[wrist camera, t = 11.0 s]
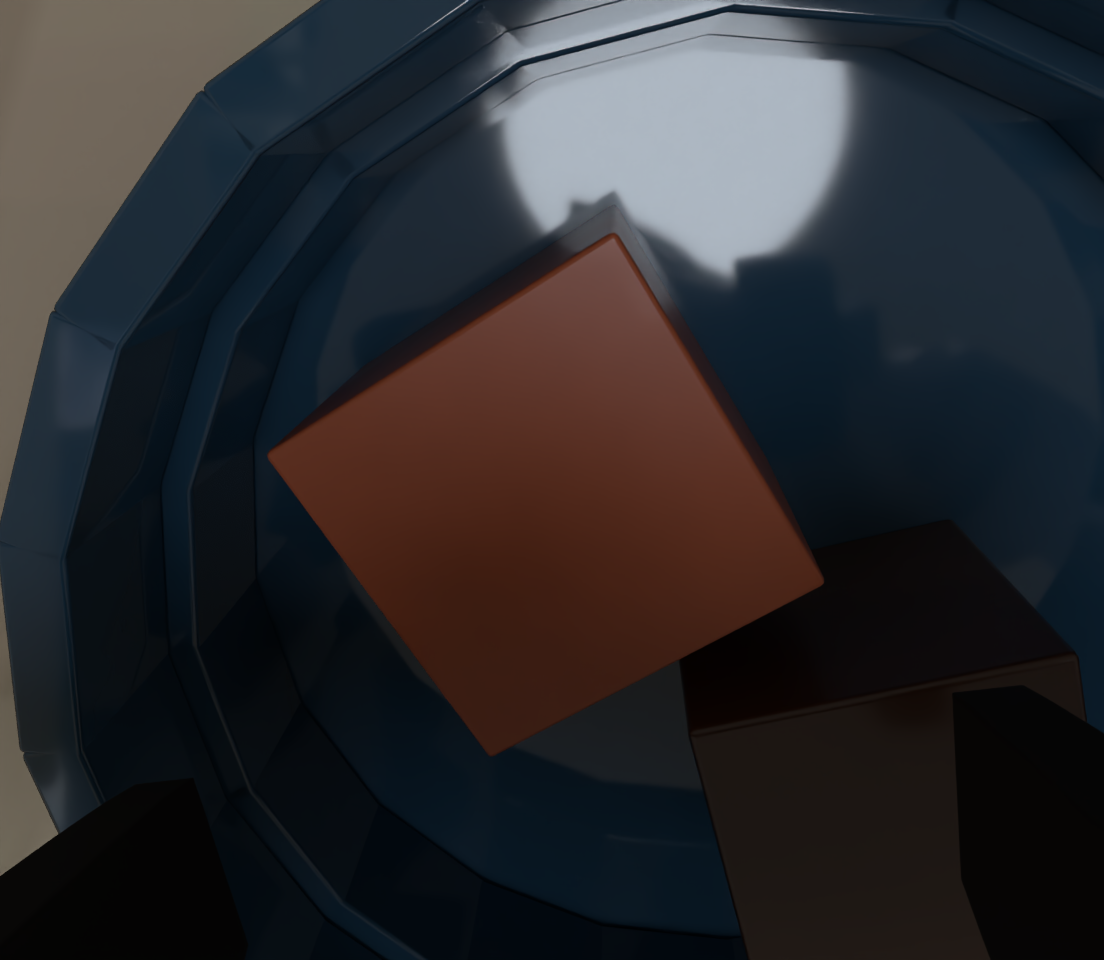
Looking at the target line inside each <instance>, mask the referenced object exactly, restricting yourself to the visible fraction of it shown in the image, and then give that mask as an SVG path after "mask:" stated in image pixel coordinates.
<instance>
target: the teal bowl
mask: <svg viewBox="0 0 1104 960" xmlns="http://www.w3.org/2000/svg"><path fill="white" fill-rule="evenodd" d="M610 206H616V207H617V208H618V209H619V211H620V212H621V214H622V216H623V217H624V219H625V221H626V223H627V224H628V226H629V228H630V229H631V231H632V233H633V234H634V236H635V238H636V239H637V241H638V243H639V244H640V246H641V248H642V249H643V251H644V253H645V254H646V256H647V258H648V260H649V261H650V263H651V265H652V266H653V268H654V270H655V271H656V273H657V275H658V276H659V278H660V280H661V281H662V283H663V285H664V286H665V288H666V290H667V291H668V293H669V295H670V297H671V298H672V300H673V302H674V303H675V305H676V307H677V308H678V310H679V312H680V313H681V315H682V317H683V318H684V320H685V322H686V323H687V325H688V327H689V329H690V330H691V332H692V334H693V335H694V337H695V339H696V340H697V342H698V344H699V345H700V347H701V349H702V350H703V352H704V354H705V355H706V357H707V359H708V360H709V362H710V364H711V366H712V367H713V369H714V371H715V372H716V374H717V376H718V377H719V379H720V381H721V382H722V384H723V386H724V387H725V389H726V391H727V392H728V394H729V396H730V398H731V399H732V401H733V403H734V404H735V406H736V408H737V409H738V411H739V413H740V414H741V416H742V418H743V419H744V421H745V423H746V424H747V426H748V428H749V429H750V431H751V433H752V435H753V436H754V438H755V440H756V441H757V443H758V445H759V446H760V448H761V450H762V451H763V453H764V455H765V456H766V458H767V460H768V462H769V464H770V466H771V468H772V470H773V473H774V475H775V477H776V479H777V481H778V483H779V485H780V487H781V489H782V491H783V493H784V496H785V498H786V500H787V502H788V504H789V506H790V508H791V510H792V512H793V514H794V516H795V519H796V521H797V523H798V525H799V527H800V529H801V531H802V533H803V535H804V537H805V539H806V541H807V544H808V546H809V548H810V550H814V549H818V548H823V547H827V546H832V545H836V544H841V543H845V542H849V541H854V540H858V539H863V538H867V537H872V536H876V535H881V534H885V533H890V532H894V531H899V530H903V529H907V528H912V527H916V526H921V525H925V524H930V523H934V522H939V521H943V520H953V521H954V522H955V523H956V524H957V526H958V527H959V528H960V529H961V530H962V531H963V532H964V533H965V534H966V535H967V536H968V537H969V538H970V539H971V541H972V542H973V543H974V544H975V545H976V546H977V547H978V548H979V549H980V550H981V551H982V552H983V553H984V554H985V556H986V557H987V558H988V559H989V560H990V561H991V562H992V563H993V564H994V565H995V566H996V567H997V568H998V569H999V571H1000V572H1001V573H1002V574H1003V575H1004V576H1005V577H1006V578H1007V579H1008V580H1009V581H1010V582H1011V583H1012V584H1013V586H1014V587H1015V588H1016V589H1017V590H1018V591H1019V592H1020V593H1021V594H1022V595H1023V596H1024V597H1025V598H1026V599H1027V601H1028V602H1029V603H1030V604H1031V605H1032V606H1033V607H1034V608H1035V609H1036V610H1037V611H1038V612H1039V613H1040V614H1041V616H1042V617H1043V618H1044V619H1045V620H1046V621H1047V622H1048V623H1049V624H1050V625H1051V626H1052V627H1053V628H1054V629H1055V631H1056V632H1057V633H1058V634H1059V635H1060V636H1061V637H1062V638H1063V639H1064V640H1065V641H1066V642H1067V643H1068V644H1069V646H1070V647H1071V648H1072V649H1073V650H1074V651H1075V652H1076V654H1077V655H1078V656H1079V663H1080V671H1081V678H1082V686H1083V693H1084V701H1085V709H1086V716H1087V723H1088V724H1090V725H1091V726H1093V727H1095V728H1096V729H1098V730H1099V731H1101V732H1103V733H1104V0H320V1H319V2H317V3H316V4H314V5H313V6H312V7H310V8H309V9H308V10H306V11H305V12H303V13H302V14H301V15H299V16H298V17H297V18H295V19H294V20H292V21H291V22H290V23H288V24H287V25H285V26H284V27H283V28H281V29H280V30H279V31H277V32H276V33H274V34H273V35H272V36H270V37H269V38H268V39H266V40H265V41H263V42H262V43H261V44H259V45H258V46H257V47H255V48H254V49H252V50H251V51H250V52H248V53H247V54H246V55H244V56H243V57H241V58H240V59H239V60H237V61H236V62H235V63H233V64H232V65H230V66H229V67H228V68H226V69H225V70H224V71H222V72H221V73H219V74H218V75H217V76H215V77H214V78H213V79H211V80H210V81H208V82H207V83H206V85H205V86H204V91H200V92H198V93H197V94H196V95H195V97H194V98H193V100H192V101H191V103H190V104H189V106H188V107H187V109H186V110H185V112H184V113H183V115H182V116H181V118H180V119H179V121H178V122H177V124H176V125H175V127H174V128H173V129H172V131H171V132H170V134H169V135H168V137H167V138H166V140H165V141H164V143H163V144H162V146H161V147H160V149H159V150H158V152H157V153H156V155H155V156H154V158H153V159H152V161H151V162H150V164H149V165H148V167H147V168H146V170H145V171H144V173H143V174H142V176H141V177H140V179H139V180H138V182H137V183H136V185H135V186H134V188H133V189H132V191H131V192H130V194H129V195H128V197H127V198H126V200H125V201H124V203H123V204H122V206H121V207H120V209H119V210H118V211H117V213H116V214H115V216H114V217H113V219H112V220H111V222H110V223H109V225H108V226H107V228H106V229H105V231H104V232H103V234H102V235H101V237H100V238H99V240H98V241H97V243H96V244H95V246H94V247H93V249H92V250H91V252H90V253H89V255H88V256H87V258H86V259H85V261H84V262H83V264H82V265H81V267H80V268H79V270H78V271H77V273H76V274H75V276H74V277H73V279H72V280H71V282H70V283H69V285H68V286H67V288H66V289H65V291H64V292H63V293H62V295H61V296H60V298H59V299H58V301H57V302H56V304H55V308H54V310H55V311H52V313H51V314H50V316H49V320H48V324H47V328H46V333H45V337H44V341H43V345H42V349H41V353H40V358H39V362H38V366H37V370H36V374H35V378H34V383H33V387H32V391H31V395H30V399H29V403H28V408H27V412H26V416H25V420H24V424H23V428H22V433H21V437H20V441H19V445H18V449H17V453H16V458H15V462H14V466H13V470H12V474H11V478H10V483H9V487H8V491H7V495H6V499H5V503H4V508H3V512H2V516H1V520H0V578H1V587H2V596H3V605H4V613H5V622H6V631H7V640H8V649H9V658H10V667H11V676H12V684H13V693H14V702H15V711H16V720H17V729H18V738H19V747H20V750H21V751H22V752H24V754H23V758H24V761H25V763H26V766H27V768H28V770H29V772H30V774H31V776H32V778H33V781H34V783H35V785H36V787H37V789H38V791H39V793H40V795H41V798H42V800H43V802H44V804H45V806H46V808H47V810H48V813H49V815H50V817H51V819H52V821H53V823H54V825H55V828H56V830H57V832H58V834H60V833H61V832H62V831H64V830H65V829H67V828H68V827H70V826H71V825H72V824H74V823H75V822H77V821H78V820H80V819H81V818H83V817H84V816H85V815H87V814H88V813H90V812H91V811H93V810H94V809H96V808H97V807H99V806H100V805H102V804H103V803H105V802H107V801H108V800H110V799H111V798H113V797H115V796H116V795H118V794H120V793H121V792H123V791H125V790H126V789H128V788H130V787H132V786H133V785H135V784H143V783H152V782H161V781H170V780H179V779H187V778H194V781H195V784H196V787H197V790H198V793H199V796H200V799H201V802H202V805H203V808H204V811H205V814H206V817H207V820H208V823H209V826H210V829H211V832H212V835H213V839H214V842H215V845H216V848H217V851H218V854H219V857H220V860H221V863H222V866H223V869H224V872H225V875H226V878H227V881H228V884H229V887H230V890H231V893H232V896H233V899H234V902H235V905H236V908H237V911H238V914H239V918H240V921H241V924H242V927H243V930H244V933H245V936H246V939H247V942H248V948H247V952H246V956H245V960H748V959H747V956H746V952H745V948H744V944H743V940H742V937H741V933H740V929H739V925H738V922H737V918H736V914H735V910H734V906H733V903H732V899H731V895H730V891H729V888H728V884H727V880H726V876H725V873H724V869H723V865H722V861H721V857H720V854H719V850H718V846H717V842H716V839H715V835H714V831H713V827H712V823H711V820H710V816H709V812H708V808H707V805H706V801H705V797H704V793H703V789H702V786H701V782H700V778H699V774H698V771H697V767H696V763H695V759H694V755H693V752H692V748H691V744H690V740H689V737H688V730H687V722H686V714H685V706H684V698H683V690H682V682H681V674H680V666H679V660H678V661H676V662H674V663H672V664H670V665H668V666H666V667H664V668H662V669H660V670H658V671H656V672H654V673H652V674H651V675H649V676H647V677H645V678H643V679H641V680H639V681H637V682H635V683H633V684H631V685H629V686H627V687H626V688H624V689H622V690H620V691H618V692H616V693H614V694H612V695H610V696H608V697H606V698H604V699H602V700H600V701H599V702H597V703H595V704H593V705H591V706H589V707H587V708H585V709H583V710H581V711H579V712H577V713H575V714H574V715H572V716H570V717H568V718H566V719H564V720H562V721H560V722H558V723H556V724H554V725H552V726H550V727H549V728H547V729H545V730H543V731H541V732H539V733H537V734H535V735H533V736H531V737H529V738H527V739H525V740H523V741H522V742H520V743H518V744H516V745H514V746H512V747H510V748H508V749H506V750H504V751H502V752H500V753H498V754H497V755H495V756H489V755H488V754H487V753H486V751H485V750H484V749H483V747H482V746H481V745H480V743H479V742H478V741H477V739H476V738H475V737H474V735H473V734H472V733H471V731H470V730H469V728H468V727H467V726H466V724H465V723H464V722H463V720H462V719H461V718H460V716H459V715H458V714H457V712H456V711H455V710H454V708H453V707H452V706H451V704H450V703H449V702H448V700H447V699H446V698H445V696H444V695H443V694H442V692H441V691H440V689H439V688H438V687H437V685H436V684H435V683H434V681H433V680H432V679H431V677H430V676H429V675H428V673H427V672H426V671H425V669H424V668H423V667H422V665H421V664H420V663H419V661H418V660H417V659H416V657H415V656H414V655H413V653H412V652H411V650H410V649H409V648H408V646H407V645H406V644H405V642H404V641H403V640H402V638H401V637H400V636H399V634H398V633H397V632H396V630H395V629H394V628H393V626H392V625H391V624H390V622H389V621H388V620H387V618H386V617H385V616H384V614H383V613H382V611H381V610H380V609H379V607H378V606H377V605H376V603H375V602H374V601H373V599H372V598H371V597H370V595H369V594H368V593H367V591H366V590H365V589H364V587H363V586H362V585H361V583H360V582H359V581H358V579H357V578H356V576H355V575H354V574H353V572H352V571H351V570H350V568H349V567H348V566H347V564H346V563H345V562H344V560H343V559H342V558H341V556H340V555H339V554H338V552H337V551H336V550H335V548H334V547H333V546H332V544H331V543H330V542H329V540H328V539H327V537H326V536H325V535H324V533H323V532H322V531H321V529H320V528H319V527H318V525H317V524H316V523H315V521H314V520H313V519H312V517H311V516H310V515H309V513H308V512H307V511H306V509H305V508H304V507H303V505H302V504H301V503H300V501H299V500H298V498H297V497H296V496H295V494H294V493H293V492H292V490H291V489H290V488H289V486H288V485H287V484H286V482H285V481H284V480H283V478H282V477H281V476H280V474H279V473H278V472H277V470H276V469H275V468H274V466H273V465H272V464H271V462H270V461H269V459H268V457H267V454H268V452H269V450H271V449H272V448H273V447H274V446H275V445H276V444H277V443H278V442H279V441H281V440H282V439H283V438H284V437H285V436H286V435H287V434H288V433H290V432H291V431H292V430H293V429H294V428H295V427H296V426H297V425H298V424H300V423H301V422H302V421H303V420H304V419H305V418H306V417H307V416H309V415H310V414H311V413H312V412H313V411H314V410H315V409H316V408H317V407H319V406H320V405H321V404H322V403H323V402H324V401H325V400H326V399H328V398H329V397H330V396H331V395H332V394H333V393H334V392H335V391H337V390H338V389H339V388H340V387H341V386H342V385H343V384H344V383H345V382H347V381H348V380H349V379H350V378H351V377H352V376H353V375H354V374H356V373H357V372H358V371H359V370H360V369H361V368H362V367H363V366H365V365H366V364H368V363H369V362H371V361H372V360H374V359H375V358H377V357H378V356H380V355H382V354H383V353H385V352H386V351H388V350H389V349H391V348H392V347H394V346H395V345H397V344H399V343H400V342H402V341H403V340H405V339H406V338H408V337H409V336H411V335H412V334H414V333H416V332H417V331H419V330H420V329H422V328H423V327H425V326H426V325H428V324H429V323H431V322H433V321H434V320H436V319H437V318H439V317H440V316H442V315H443V314H445V313H446V312H448V311H450V310H451V309H453V308H454V307H456V306H457V305H459V304H460V303H462V302H463V301H465V300H467V299H468V298H470V297H471V296H473V295H474V294H476V293H477V292H479V291H481V290H482V289H484V288H485V287H487V286H488V285H490V284H491V283H493V282H494V281H496V280H498V279H499V278H501V277H502V276H504V275H505V274H507V273H508V272H510V271H511V270H513V269H515V268H516V267H518V266H519V265H521V264H522V263H524V262H525V261H527V260H528V259H530V258H532V257H533V256H535V255H536V254H538V253H539V252H541V251H542V250H544V249H545V248H547V247H549V246H550V245H552V244H553V243H555V242H556V241H558V240H559V239H561V238H562V237H564V236H566V235H567V234H569V233H570V232H572V231H573V230H575V229H576V228H578V227H579V226H581V225H583V224H584V223H586V222H587V221H589V220H590V219H592V218H593V217H595V216H597V215H598V214H600V213H601V212H603V211H604V210H606V209H607V208H609V207H610Z"/></svg>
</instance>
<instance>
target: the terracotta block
mask: <svg viewBox="0 0 1104 960" xmlns="http://www.w3.org/2000/svg"><path fill="white" fill-rule="evenodd" d="M267 457H268V459H269V461H270V462H271V464H272V465H273V466H274V468H275V469H276V470H277V472H278V473H279V474H280V476H281V477H282V478H283V480H284V481H285V482H286V484H287V485H288V486H289V488H290V489H291V490H292V492H293V493H294V494H295V496H296V497H297V498H298V500H299V501H300V503H301V504H302V505H303V507H304V508H305V509H306V511H307V512H308V513H309V515H310V516H311V517H312V519H313V520H314V521H315V523H316V524H317V525H318V527H319V528H320V529H321V531H322V532H323V533H324V535H325V536H326V537H327V539H328V540H329V542H330V543H331V544H332V546H333V547H334V548H335V550H336V551H337V552H338V554H339V555H340V556H341V558H342V559H343V560H344V562H345V563H346V564H347V566H348V567H349V568H350V570H351V571H352V572H353V574H354V575H355V576H356V578H357V579H358V581H359V582H360V583H361V585H362V586H363V587H364V589H365V590H366V591H367V593H368V594H369V595H370V597H371V598H372V599H373V601H374V602H375V603H376V605H377V606H378V607H379V609H380V610H381V611H382V613H383V614H384V616H385V617H386V618H387V620H388V621H389V622H390V624H391V625H392V626H393V628H394V629H395V630H396V632H397V633H398V634H399V636H400V637H401V638H402V640H403V641H404V642H405V644H406V645H407V646H408V648H409V649H410V650H411V652H412V653H413V655H414V656H415V657H416V659H417V660H418V661H419V663H420V664H421V665H422V667H423V668H424V669H425V671H426V672H427V673H428V675H429V676H430V677H431V679H432V680H433V681H434V683H435V684H436V685H437V687H438V688H439V689H440V691H441V692H442V694H443V695H444V696H445V698H446V699H447V700H448V702H449V703H450V704H451V706H452V707H453V708H454V710H455V711H456V712H457V714H458V715H459V716H460V718H461V719H462V720H463V722H464V723H465V724H466V726H467V727H468V728H469V730H470V731H471V733H472V734H473V735H474V737H475V738H476V739H477V741H478V742H479V743H480V745H481V746H482V747H483V749H484V750H485V751H486V753H487V754H488V755H489V756H495V755H497V754H498V753H500V752H502V751H504V750H506V749H508V748H510V747H512V746H514V745H516V744H518V743H520V742H522V741H523V740H525V739H527V738H529V737H531V736H533V735H535V734H537V733H539V732H541V731H543V730H545V729H547V728H549V727H550V726H552V725H554V724H556V723H558V722H560V721H562V720H564V719H566V718H568V717H570V716H572V715H574V714H575V713H577V712H579V711H581V710H583V709H585V708H587V707H589V706H591V705H593V704H595V703H597V702H599V701H600V700H602V699H604V698H606V697H608V696H610V695H612V694H614V693H616V692H618V691H620V690H622V689H624V688H626V687H627V686H629V685H631V684H633V683H635V682H637V681H639V680H641V679H643V678H645V677H647V676H649V675H651V674H652V673H654V672H656V671H658V670H660V669H662V668H664V667H666V666H668V665H670V664H672V663H674V662H676V661H678V660H679V659H681V658H683V657H685V656H687V655H689V654H691V653H693V652H695V651H697V650H699V649H701V648H703V647H704V646H706V645H708V644H710V643H712V642H714V641H716V640H718V639H720V638H722V637H724V636H726V635H728V634H730V633H731V632H733V631H735V630H737V629H739V628H741V627H743V626H745V625H747V624H749V623H751V622H753V621H755V620H756V619H758V618H760V617H762V616H764V615H766V614H768V613H770V612H772V611H774V610H776V609H778V608H780V607H782V606H783V605H785V604H787V603H789V602H791V601H793V600H795V599H797V598H799V597H801V596H803V595H805V594H807V593H808V592H810V591H812V590H814V589H816V588H818V587H820V586H821V585H822V584H824V577H823V575H822V573H821V571H820V569H819V567H818V564H817V562H816V560H815V558H814V556H813V554H812V552H811V550H810V548H809V546H808V544H807V541H806V539H805V537H804V535H803V533H802V531H801V529H800V527H799V525H798V523H797V521H796V519H795V516H794V514H793V512H792V510H791V508H790V506H789V504H788V502H787V500H786V498H785V496H784V493H783V491H782V489H781V487H780V485H779V483H778V481H777V479H776V477H775V475H774V473H773V470H772V468H771V466H770V464H769V462H768V460H767V458H766V456H765V455H764V453H763V451H762V450H761V448H760V446H759V445H758V443H757V441H756V440H755V438H754V436H753V435H752V433H751V431H750V429H749V428H748V426H747V424H746V423H745V421H744V419H743V418H742V416H741V414H740V413H739V411H738V409H737V408H736V406H735V404H734V403H733V401H732V399H731V398H730V396H729V394H728V392H727V391H726V389H725V387H724V386H723V384H722V382H721V381H720V379H719V377H718V376H717V374H716V372H715V371H714V369H713V367H712V366H711V364H710V362H709V360H708V359H707V357H706V355H705V354H704V352H703V350H702V349H701V347H700V345H699V344H698V342H697V340H696V339H695V337H694V335H693V334H692V332H691V330H690V329H689V327H688V325H687V323H686V322H685V320H684V318H683V317H682V315H681V313H680V312H679V310H678V308H677V307H676V305H675V303H674V302H673V300H672V298H671V297H670V295H669V293H668V291H667V290H666V288H665V286H664V285H663V283H662V281H661V280H660V278H659V276H658V275H657V273H656V271H655V270H654V268H653V266H652V265H651V263H650V261H649V260H648V258H647V256H646V254H645V253H644V251H643V249H642V248H641V246H640V244H639V243H638V241H637V239H636V238H635V236H634V234H633V233H632V231H631V229H630V228H629V226H628V224H627V223H626V221H625V219H624V217H623V216H622V214H621V212H620V211H619V209H618V208H617V207H616V206H610V207H609V208H607V209H606V210H604V211H603V212H601V213H600V214H598V215H597V216H595V217H593V218H592V219H590V220H589V221H587V222H586V223H584V224H583V225H581V226H579V227H578V228H576V229H575V230H573V231H572V232H570V233H569V234H567V235H566V236H564V237H562V238H561V239H559V240H558V241H556V242H555V243H553V244H552V245H550V246H549V247H547V248H545V249H544V250H542V251H541V252H539V253H538V254H536V255H535V256H533V257H532V258H530V259H528V260H527V261H525V262H524V263H522V264H521V265H519V266H518V267H516V268H515V269H513V270H511V271H510V272H508V273H507V274H505V275H504V276H502V277H501V278H499V279H498V280H496V281H494V282H493V283H491V284H490V285H488V286H487V287H485V288H484V289H482V290H481V291H479V292H477V293H476V294H474V295H473V296H471V297H470V298H468V299H467V300H465V301H463V302H462V303H460V304H459V305H457V306H456V307H454V308H453V309H451V310H450V311H448V312H446V313H445V314H443V315H442V316H440V317H439V318H437V319H436V320H434V321H433V322H431V323H429V324H428V325H426V326H425V327H423V328H422V329H420V330H419V331H417V332H416V333H414V334H412V335H411V336H409V337H408V338H406V339H405V340H403V341H402V342H400V343H399V344H397V345H395V346H394V347H392V348H391V349H389V350H388V351H386V352H385V353H383V354H382V355H380V356H378V357H377V358H375V359H374V360H372V361H371V362H369V363H368V364H366V365H365V366H363V367H362V368H361V369H360V370H359V371H358V372H357V373H356V374H354V375H353V376H352V377H351V378H350V379H349V380H348V381H347V382H345V383H344V384H343V385H342V386H341V387H340V388H339V389H338V390H337V391H335V392H334V393H333V394H332V395H331V396H330V397H329V398H328V399H326V400H325V401H324V402H323V403H322V404H321V405H320V406H319V407H317V408H316V409H315V410H314V411H313V412H312V413H311V414H310V415H309V416H307V417H306V418H305V419H304V420H303V421H302V422H301V423H300V424H298V425H297V426H296V427H295V428H294V429H293V430H292V431H291V432H290V433H288V434H287V435H286V436H285V437H284V438H283V439H282V440H281V441H279V442H278V443H277V444H276V445H275V446H274V447H273V448H272V449H271V450H269V452H268V454H267Z"/></svg>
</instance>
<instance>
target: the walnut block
mask: <svg viewBox="0 0 1104 960" xmlns="http://www.w3.org/2000/svg"><path fill="white" fill-rule="evenodd" d="M811 552H812V554H813V556H814V558H815V560H816V562H817V564H818V567H819V569H820V571H821V573H822V575H823V577H824V584H822V585H821V586H820V587H818V588H816V589H814V590H812V591H810V592H808V593H807V594H805V595H803V596H801V597H799V598H797V599H795V600H793V601H791V602H789V603H787V604H785V605H783V606H782V607H780V608H778V609H776V610H774V611H772V612H770V613H768V614H766V615H764V616H762V617H760V618H758V619H756V620H755V621H753V622H751V623H749V624H747V625H745V626H743V627H741V628H739V629H737V630H735V631H733V632H731V633H730V634H728V635H726V636H724V637H722V638H720V639H718V640H716V641H714V642H712V643H710V644H708V645H706V646H704V647H703V648H701V649H699V650H697V651H695V652H693V653H691V654H689V655H687V656H685V657H683V658H681V659H679V666H680V674H681V682H682V690H683V698H684V706H685V714H686V722H687V730H688V737H689V740H690V744H691V748H692V752H693V755H694V759H695V763H696V767H697V771H698V774H699V778H700V782H701V786H702V789H703V793H704V797H705V801H706V805H707V808H708V812H709V816H710V820H711V823H712V827H713V831H714V835H715V839H716V842H717V846H718V850H719V854H720V857H721V861H722V865H723V869H724V873H725V876H726V880H727V884H728V888H729V891H730V895H731V899H732V903H733V906H734V910H735V914H736V918H737V922H738V925H739V929H740V933H741V937H742V940H743V944H744V948H745V952H746V956H747V959H748V960H990V957H989V954H988V952H987V949H986V947H985V944H984V941H983V939H982V936H981V933H980V930H979V928H978V925H977V922H976V919H975V916H974V914H973V911H972V908H971V905H970V903H969V900H968V897H967V894H966V891H965V889H964V886H963V883H962V880H961V867H960V847H959V826H958V805H957V784H956V764H955V743H954V722H953V701H952V693H954V692H963V691H972V690H981V689H990V688H999V687H1008V686H1016V685H1024V686H1026V687H1028V688H1030V689H1031V690H1033V691H1035V692H1037V693H1039V694H1040V695H1042V696H1044V697H1045V698H1047V699H1049V700H1051V701H1052V702H1054V703H1055V704H1057V705H1059V706H1060V707H1062V708H1064V709H1065V710H1067V711H1069V712H1070V713H1072V714H1074V715H1075V716H1077V717H1078V718H1080V719H1082V720H1083V721H1085V722H1087V716H1086V709H1085V701H1084V693H1083V686H1082V678H1081V671H1080V663H1079V656H1078V655H1077V654H1076V652H1075V651H1074V650H1073V649H1072V648H1071V647H1070V646H1069V644H1068V643H1067V642H1066V641H1065V640H1064V639H1063V638H1062V637H1061V636H1060V635H1059V634H1058V633H1057V632H1056V631H1055V629H1054V628H1053V627H1052V626H1051V625H1050V624H1049V623H1048V622H1047V621H1046V620H1045V619H1044V618H1043V617H1042V616H1041V614H1040V613H1039V612H1038V611H1037V610H1036V609H1035V608H1034V607H1033V606H1032V605H1031V604H1030V603H1029V602H1028V601H1027V599H1026V598H1025V597H1024V596H1023V595H1022V594H1021V593H1020V592H1019V591H1018V590H1017V589H1016V588H1015V587H1014V586H1013V584H1012V583H1011V582H1010V581H1009V580H1008V579H1007V578H1006V577H1005V576H1004V575H1003V574H1002V573H1001V572H1000V571H999V569H998V568H997V567H996V566H995V565H994V564H993V563H992V562H991V561H990V560H989V559H988V558H987V557H986V556H985V554H984V553H983V552H982V551H981V550H980V549H979V548H978V547H977V546H976V545H975V544H974V543H973V542H972V541H971V539H970V538H969V537H968V536H967V535H966V534H965V533H964V532H963V531H962V530H961V529H960V528H959V527H958V526H957V524H956V523H955V522H954V521H953V520H943V521H939V522H934V523H930V524H925V525H921V526H916V527H912V528H907V529H903V530H899V531H894V532H890V533H885V534H881V535H876V536H872V537H867V538H863V539H858V540H854V541H849V542H845V543H841V544H836V545H832V546H827V547H823V548H818V549H814V550H811Z"/></svg>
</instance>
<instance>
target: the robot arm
mask: <svg viewBox="0 0 1104 960" xmlns="http://www.w3.org/2000/svg"><path fill="white" fill-rule="evenodd" d="M952 701H953V722H954V743H955V764H956V784H957V805H958V826H959V847H960V867H961V880H962V883H963V886H964V889H965V891H966V894H967V897H968V900H969V903H970V905H971V908H972V911H973V914H974V916H975V919H976V922H977V925H978V928H979V930H980V933H981V936H982V939H983V941H984V944H985V947H986V949H987V952H988V954H989V957H990V960H1104V733H1103V732H1101V731H1099V730H1098V729H1096V728H1095V727H1093V726H1091V725H1090V724H1088V723H1087V722H1085V721H1083V720H1082V719H1080V718H1078V717H1077V716H1075V715H1074V714H1072V713H1070V712H1069V711H1067V710H1065V709H1064V708H1062V707H1060V706H1059V705H1057V704H1055V703H1054V702H1052V701H1051V700H1049V699H1047V698H1045V697H1044V696H1042V695H1040V694H1039V693H1037V692H1035V691H1033V690H1031V689H1030V688H1028V687H1026V686H1024V685H1016V686H1008V687H999V688H990V689H981V690H972V691H963V692H954V693H952ZM247 948H248V942H247V939H246V936H245V933H244V930H243V927H242V924H241V921H240V918H239V914H238V911H237V908H236V905H235V902H234V899H233V896H232V893H231V890H230V887H229V884H228V881H227V878H226V875H225V872H224V869H223V866H222V863H221V860H220V857H219V854H218V851H217V848H216V845H215V842H214V839H213V835H212V832H211V829H210V826H209V823H208V820H207V817H206V814H205V811H204V808H203V805H202V802H201V799H200V796H199V793H198V790H197V787H196V784H195V781H194V778H187V779H179V780H170V781H161V782H152V783H143V784H135V785H133V786H132V787H130V788H128V789H126V790H125V791H123V792H121V793H120V794H118V795H116V796H115V797H113V798H111V799H110V800H108V801H107V802H105V803H103V804H102V805H100V806H99V807H97V808H96V809H94V810H93V811H91V812H90V813H88V814H87V815H85V816H84V817H83V818H81V819H80V820H78V821H77V822H75V823H74V824H72V825H71V826H70V827H68V828H67V829H65V830H64V831H62V832H61V833H60V834H58V835H57V836H55V837H54V838H53V839H51V840H50V841H48V842H47V843H46V844H44V845H43V846H41V847H40V848H39V849H37V850H36V851H34V852H33V853H32V854H30V855H29V856H27V857H26V858H25V859H23V860H22V861H21V862H19V863H18V864H16V865H15V866H14V867H12V868H11V869H9V870H8V871H7V872H5V873H4V874H3V875H1V876H0V960H245V956H246V952H247Z"/></svg>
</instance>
